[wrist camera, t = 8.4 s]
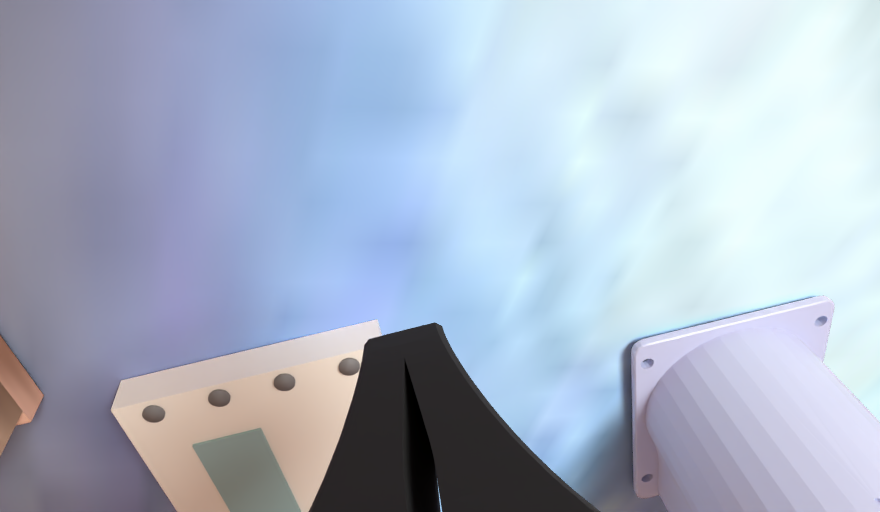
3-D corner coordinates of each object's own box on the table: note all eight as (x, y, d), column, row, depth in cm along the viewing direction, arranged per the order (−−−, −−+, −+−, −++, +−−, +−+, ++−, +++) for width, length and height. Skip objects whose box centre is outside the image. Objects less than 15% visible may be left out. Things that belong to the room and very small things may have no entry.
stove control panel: (436, 518, 30) (447, 582, 27) (238, 568, 29) (230, 637, 27) (377, 319, 23) (384, 378, 21) (121, 380, 23) (96, 448, 20)
